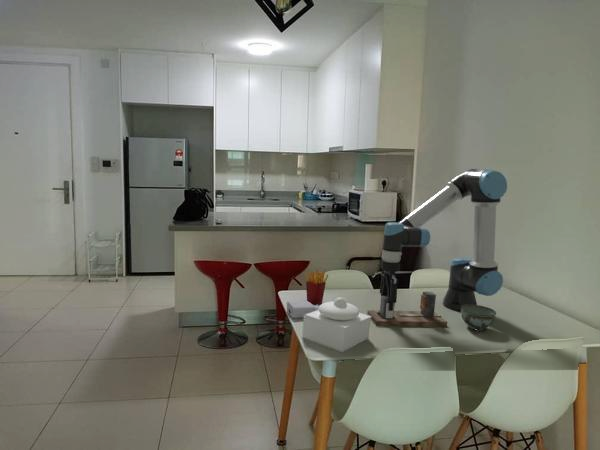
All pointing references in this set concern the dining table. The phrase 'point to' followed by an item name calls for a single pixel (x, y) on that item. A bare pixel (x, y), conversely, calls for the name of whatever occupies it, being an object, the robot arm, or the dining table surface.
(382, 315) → the grey orange block
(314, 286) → the french fries
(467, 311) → the bowl
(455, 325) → the dining table surface
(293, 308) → the charger
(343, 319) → the white lidded jar
